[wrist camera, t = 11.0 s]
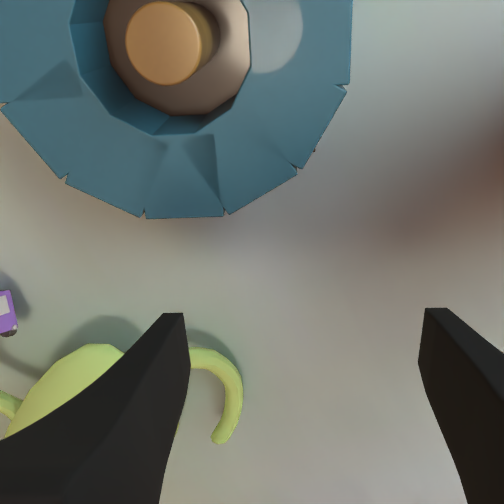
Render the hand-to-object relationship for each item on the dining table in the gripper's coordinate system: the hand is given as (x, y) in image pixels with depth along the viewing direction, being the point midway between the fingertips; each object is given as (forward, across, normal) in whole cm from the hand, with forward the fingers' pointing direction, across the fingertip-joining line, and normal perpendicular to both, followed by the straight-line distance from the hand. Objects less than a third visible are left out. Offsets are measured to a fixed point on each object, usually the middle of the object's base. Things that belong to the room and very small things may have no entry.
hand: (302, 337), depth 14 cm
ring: (+9, +4, -8) cm, 13 cm away
